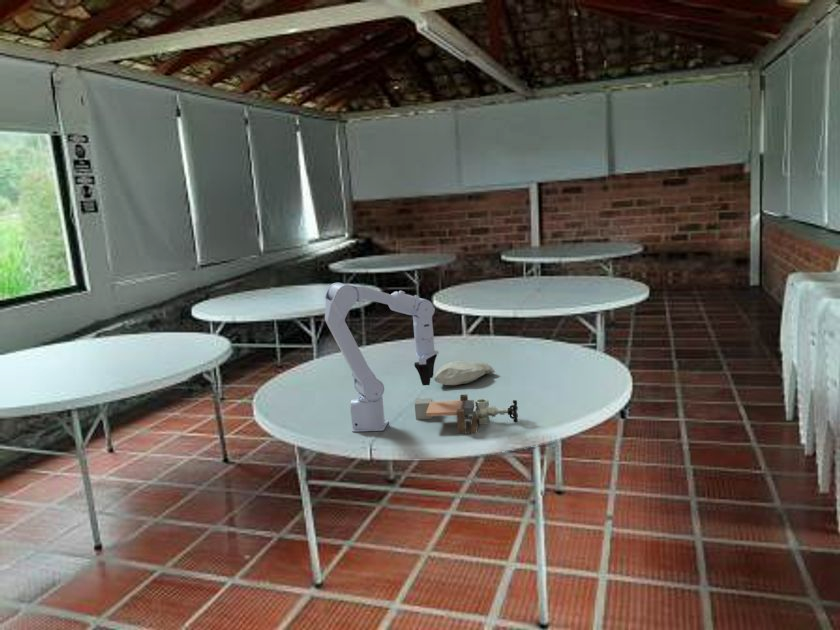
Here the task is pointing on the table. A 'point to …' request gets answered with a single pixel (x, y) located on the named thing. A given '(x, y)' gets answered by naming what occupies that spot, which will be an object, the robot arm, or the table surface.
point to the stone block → (422, 408)
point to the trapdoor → (450, 408)
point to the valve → (493, 411)
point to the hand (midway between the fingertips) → (427, 381)
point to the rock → (461, 372)
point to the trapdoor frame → (461, 419)
